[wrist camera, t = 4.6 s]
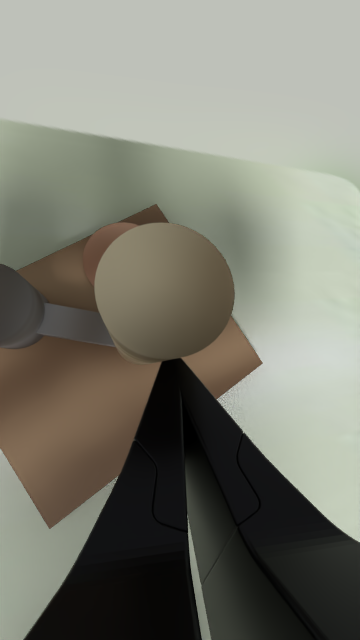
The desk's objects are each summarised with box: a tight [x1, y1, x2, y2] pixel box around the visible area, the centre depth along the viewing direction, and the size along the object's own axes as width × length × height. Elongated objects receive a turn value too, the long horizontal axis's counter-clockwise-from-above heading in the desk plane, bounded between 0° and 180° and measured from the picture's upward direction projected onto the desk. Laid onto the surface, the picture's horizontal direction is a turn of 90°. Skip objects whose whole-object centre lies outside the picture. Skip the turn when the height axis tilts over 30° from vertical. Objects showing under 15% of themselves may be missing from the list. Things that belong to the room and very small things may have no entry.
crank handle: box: [0, 223, 234, 365], centre depth 10 cm, size 10×4×10 cm, turn 81°
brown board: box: [0, 204, 262, 529], centre depth 16 cm, size 13×15×1 cm
